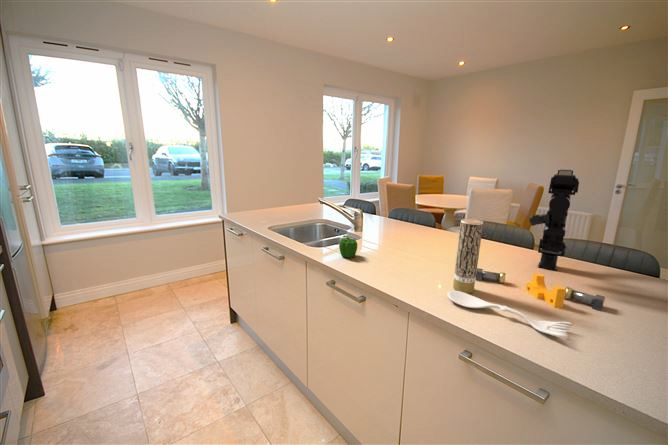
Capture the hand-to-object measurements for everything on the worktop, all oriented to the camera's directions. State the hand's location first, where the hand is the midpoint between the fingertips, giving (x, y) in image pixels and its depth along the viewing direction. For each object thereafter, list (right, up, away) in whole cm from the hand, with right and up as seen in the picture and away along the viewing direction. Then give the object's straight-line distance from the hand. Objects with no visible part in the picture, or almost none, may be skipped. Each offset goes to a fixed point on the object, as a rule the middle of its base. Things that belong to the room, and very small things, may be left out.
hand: (550, 248), depth 112 cm
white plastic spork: (-33, -18, -25) cm, 45 cm away
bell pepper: (-76, -6, +25) cm, 80 cm away
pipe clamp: (-13, -16, -14) cm, 25 cm away
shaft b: (-24, -12, 0) cm, 27 cm away
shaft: (-2, -16, -17) cm, 23 cm away
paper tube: (-37, -14, -8) cm, 41 cm away
